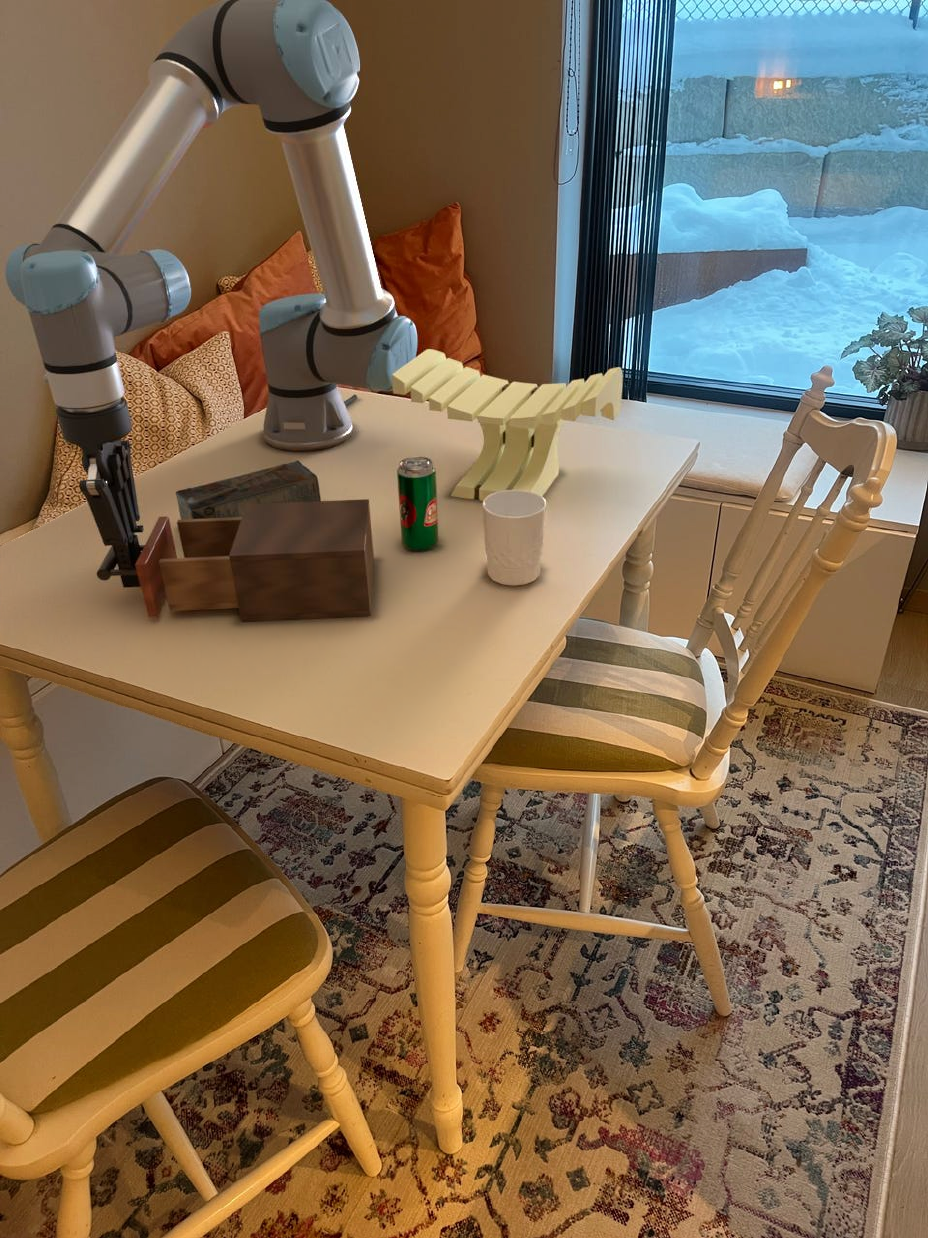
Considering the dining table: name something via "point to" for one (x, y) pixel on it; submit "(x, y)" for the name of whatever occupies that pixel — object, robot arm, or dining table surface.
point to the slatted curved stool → (507, 418)
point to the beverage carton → (249, 492)
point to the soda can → (418, 503)
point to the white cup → (514, 535)
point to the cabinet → (303, 560)
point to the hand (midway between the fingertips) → (135, 584)
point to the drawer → (184, 566)
